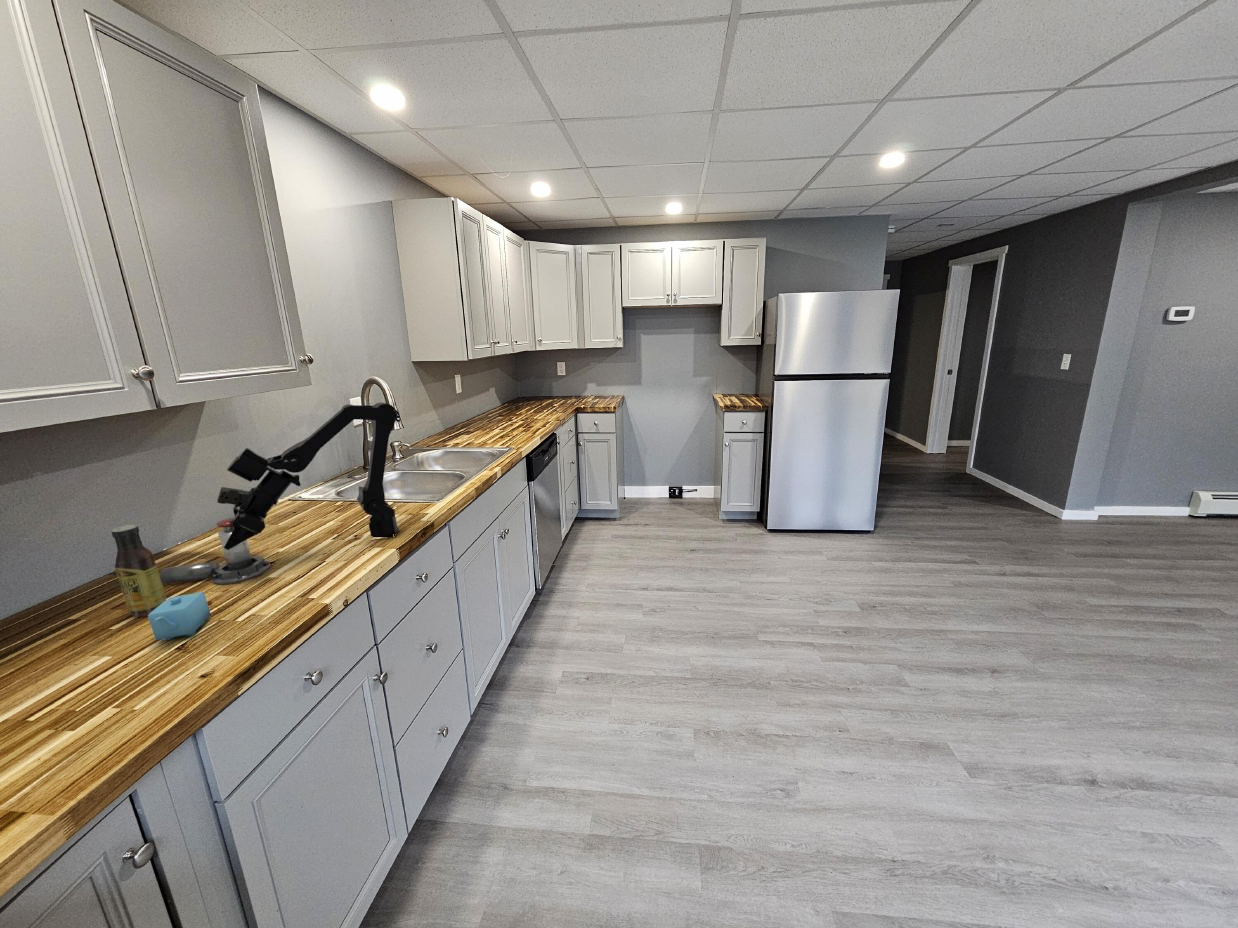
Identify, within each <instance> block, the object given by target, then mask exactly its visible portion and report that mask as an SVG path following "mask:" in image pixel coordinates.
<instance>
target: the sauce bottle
mask: <svg viewBox="0 0 1238 928" xmlns="http://www.w3.org/2000/svg"><path fill="white" fill-rule="evenodd" d="M139 532H140V529H139V526H138V525H137V524H128V525H123V526H119V527H116V528H113V529H112V530H111V536H112V537H113V538H114V540H115V544H116V549H117V550H116V558H115V563H114V569H115V573H116V575H117V576H116V577H117V578H118V583H119V585H120V590H121V592H122V595H123V597H124V602H125V604H126V606H127V610H128V611H129V613H130V615H131V616H132V617H134V618H135V617H148V615H149V614H150V613H151V612H152V611H153V610H155V609H156V608H157V607H158V606H159V605H161V604H162V603H163V602H164V601H166V600H167V596H166V593H165V590H164V587H163V585H164V584H162V582H161V579H160V575H159V574H160V571H159V569H158V566H157V563H156V561H155V557H154V554H153V552H152V551H151V550H150V549H149V548H147V547H145V545H143V541H142V539H141V536H140V534H139Z"/></svg>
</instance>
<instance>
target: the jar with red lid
mask: <svg viewBox="0 0 1238 928" xmlns="http://www.w3.org/2000/svg"><path fill="white" fill-rule="evenodd" d="M233 519H234V517H231V518H226V519H222V520H220V521H217V522H216V527H217V528H222V530H220V531H219V532H218V533H217V534H218V538H219V541H220V545H221V547H222V551H223V555H224V559H225V563H227V566H228V569H229V571H232V570H239V569H242V568H245V567H248V566H251V565H253V562H252V558H251V557H252V555H251V552H250V548H249V545H248V539H247V540H245V541H243V542H241V543H240V544H238V545H236V546H234V547H233V548H231V549H229V550H227V549H224V546H225V544H226V542H227V541H228V539H229V537H230V535H231V533H232V531H233V530H234V527H233V524H232V520H233Z"/></svg>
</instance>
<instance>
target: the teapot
mask: <svg viewBox="0 0 1238 928" xmlns="http://www.w3.org/2000/svg"><path fill="white" fill-rule="evenodd" d="M211 615H212V614H211V611H210V607H209V604H208V601H207V598H206V594H205V592H204V591H200V592H195V593H187V594H183V595H178V596H171V597H168V598H166V601H164V602H163V603H162V604H161V605H159V606H158V607H157V608H156V609H155V610H153V611H152V612H151V613H150V614H149V615H147V618H148V621H149V624H150V627H151V629H152V632H153V635H154V639H155V641H158V640H159V641H160V640H165V641H170V640H172V639H175V637H180V636H181V637H182V636H187V637H191V636H193V635H195V634H196V633H197V630H198V629H199V628H200V627H201V626H204V625H205V624H206V621H207V620H208V618H210V616H211Z"/></svg>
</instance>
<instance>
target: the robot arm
mask: <svg viewBox="0 0 1238 928" xmlns="http://www.w3.org/2000/svg"><path fill="white" fill-rule="evenodd" d="M397 418H398V411H397V409H396V408H395V407H394V406H393V405H392V404H389V403H385V402H376V403H375V404H373V405H369V404H367V405H364V404H363V405H362V404H361V405H358V404H357V405H356V404H355V405H353V404H348V403H347V404H344V405H343V406H342V407H341V409H340V410H338V411H337V412H336V413H335V414H334V415H333V416H331V418H329V419H328V420H327V421H326V422H325V423H324V424H322V425H321V426H320V427H318V428H317V429H316V430H315V431H314V432H313V433H312V434H311V435H309V436H308V437H306V438H305V439H303V440H302V441H301V440H300V441H299V442H297V443H295V444H294V445H292V446H290V447H288V448H286V449H285V450H284V451H283V452H282V453H281V454H279V455H275V456H271V457H268V458H265V457H263V456H261V455H260V454H258V453H256V452H255V451H253V450H252V449H250V448H248V447H246V448H245V449H244V450H243V451H242V452H241V453H240V454H239V455H238V456H236V457H235V458H234V459H233V460H232V462H231V463H230V464H229V466H228V467H227V469H226V471H228V472H229V473H231V474H234V476H235V475H236V476H237V477H239V478H241V479H244V480H246V481H247V482H250V483H251V482H252V481H257V482H258V481H259V480H260V481H259V483H258V484H257V485H256V486H254V487H252V488H251V489H249V490H243V489H239V488H232V487H225V486H222V487H220V490H219V494H218V496H217V502H216V503H218V504H223V505H224V504H227V505H228V504H229V505H233V506H234V507H233V508H232V510H233V511H232V512H233V514H234V516H233V518H234V519H233V520H232V524H233V527H234V530H233V531H232V533H231V535H230V537H229V539H228V541H227V542H226V544H225V546H224V549H227V550H229V549H231V548H233V547H234V546H236V545H238V544H240V543H241V542H243V541H245V540H247V541H248V539H250V538H252V537H254V536H257V535H259V534H261V533H262V532H263V531H264V529H265V528H266V522H265V519H266V518H267V517H268V512H270V510H271V509H272V508H273V507H274V506H276V505H278V503H279V499H280V498H281V497H282V495H283V494H284V493H285V492H286V491H287V489H288V488H289V487H290V486H291V484H293V485H295V486H298V487H301V484H302V483H301V481H300V475H299V474H296V473H301V472H304V471H305V469H307V467H308V466H309V465H310V463H311V462H312V461H313V460H314V458H315V457H316V455H317V453H319V451H320V450H321V449H322V448H323V447H324V446H325V445H327V443H328V442H330V441H331V440H332V439H334V438H335V436H337V435H338V434H339V433H340V432H341V431H342V430H343V429H345V428H346V427H347V426H349V424H350V423H352V422H353V421H354V420H363V421H365V420H366V421H370V422H371V428H372V429H371V430H372V440H371V445H370V455H369V461H368V462H369V463H368V470H367V477H366V482H365V484H364V486H358V496H357V498H356V501H357V502H358V503H359V506H360V508H361V509H362V511H364V513H365V514H366V515H368V516H371V517H369V523H368V528H369V531H370V536H371V537H393V534H394V536H395V534H396V533H397V532H398V531H399V532H400V530H399V529H400V528H398V523H397V518H396V517H397V516H396V510H395V509H394V508H393V507H392V506H391V505H390V504H389V503H388V502H386V496H385V489H384V476H385V469H386V462H387V456H388V455H387V454H388V445H389V439H390V435H391V433H392V430H393V429H394V427H395V424H396V421H397ZM279 470H280V471H279ZM267 471H268V472H267ZM291 473H293V474H291ZM264 475H265V476H264ZM263 476H264V477H263ZM262 477H263V478H262ZM261 478H262V479H261ZM399 532H398V533H399ZM398 533H397V534H398ZM395 537H396V536H395Z"/></svg>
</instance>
